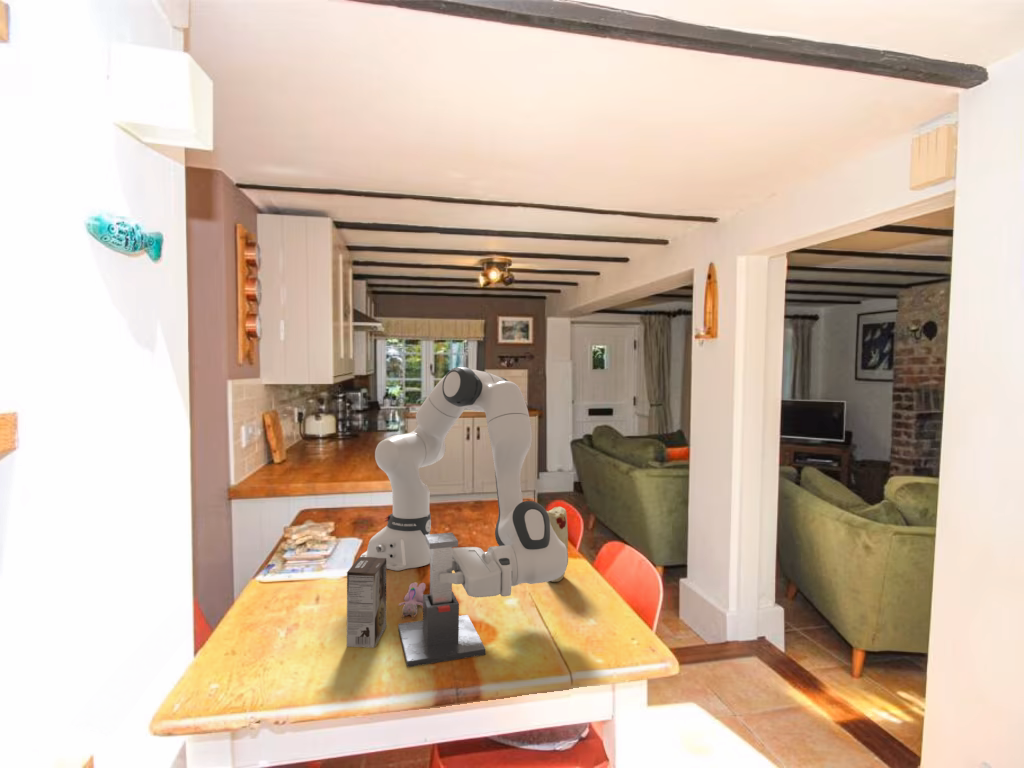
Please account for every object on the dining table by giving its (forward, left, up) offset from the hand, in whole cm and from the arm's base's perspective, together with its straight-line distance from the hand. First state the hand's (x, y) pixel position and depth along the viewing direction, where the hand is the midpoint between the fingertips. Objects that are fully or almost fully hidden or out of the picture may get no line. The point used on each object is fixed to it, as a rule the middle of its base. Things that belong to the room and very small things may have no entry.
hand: (436, 573), depth 114 cm
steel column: (+1, 0, -14) cm, 14 cm away
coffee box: (-15, -2, -15) cm, 22 cm away
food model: (+18, +43, -15) cm, 49 cm away
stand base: (+1, +1, -15) cm, 15 cm away
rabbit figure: (-12, +14, -15) cm, 24 cm away
